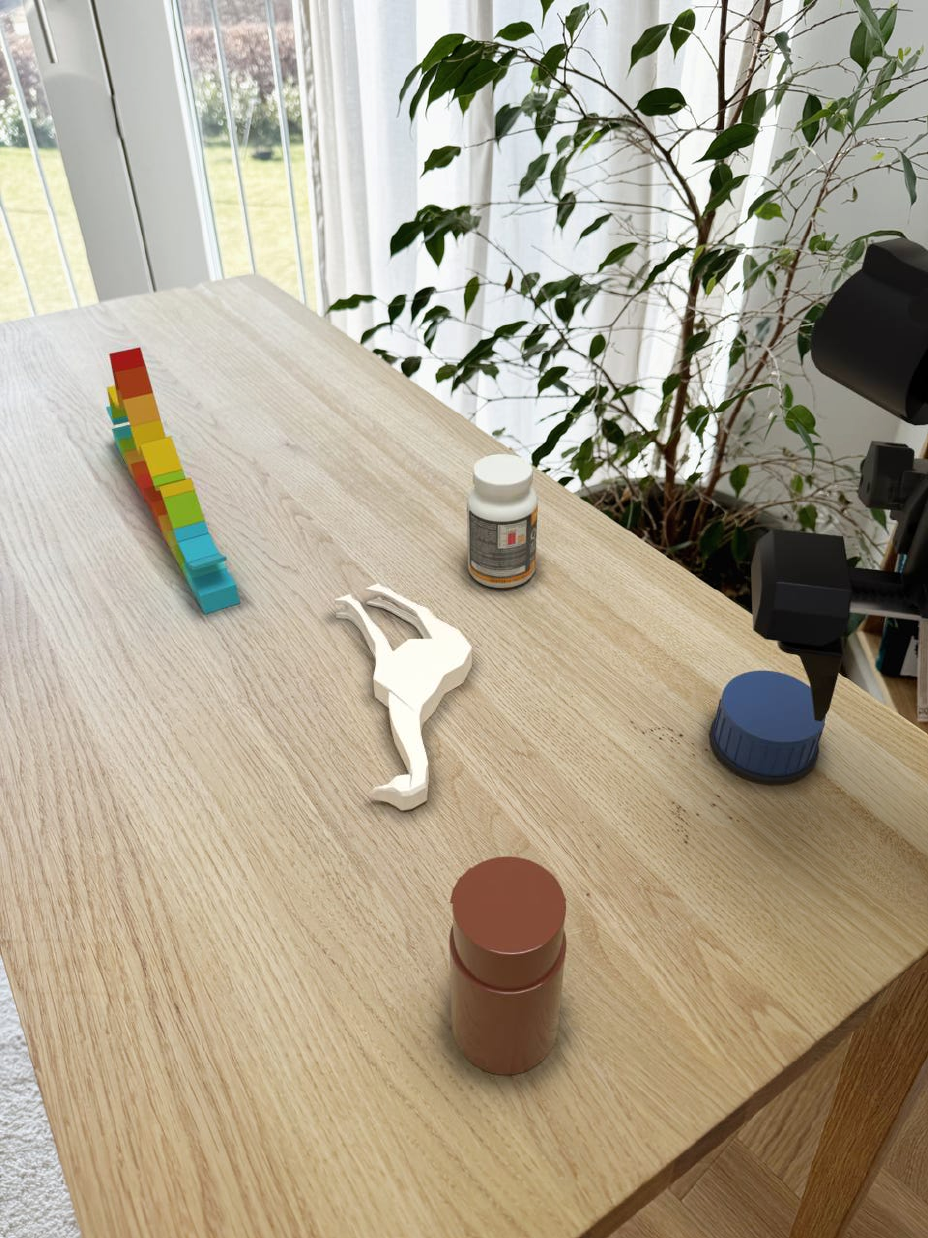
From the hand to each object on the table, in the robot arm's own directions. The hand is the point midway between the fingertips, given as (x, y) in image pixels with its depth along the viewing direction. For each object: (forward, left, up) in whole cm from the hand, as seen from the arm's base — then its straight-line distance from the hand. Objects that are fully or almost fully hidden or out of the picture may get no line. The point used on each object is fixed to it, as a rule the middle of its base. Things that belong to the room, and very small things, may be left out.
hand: (907, 727), depth 51 cm
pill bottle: (+26, -25, -12) cm, 38 cm away
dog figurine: (+31, -9, -12) cm, 35 cm away
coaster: (+5, -9, -12) cm, 16 cm away
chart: (+57, -27, -12) cm, 64 cm away
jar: (+19, +14, -12) cm, 26 cm away
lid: (+5, -9, -11) cm, 15 cm away
